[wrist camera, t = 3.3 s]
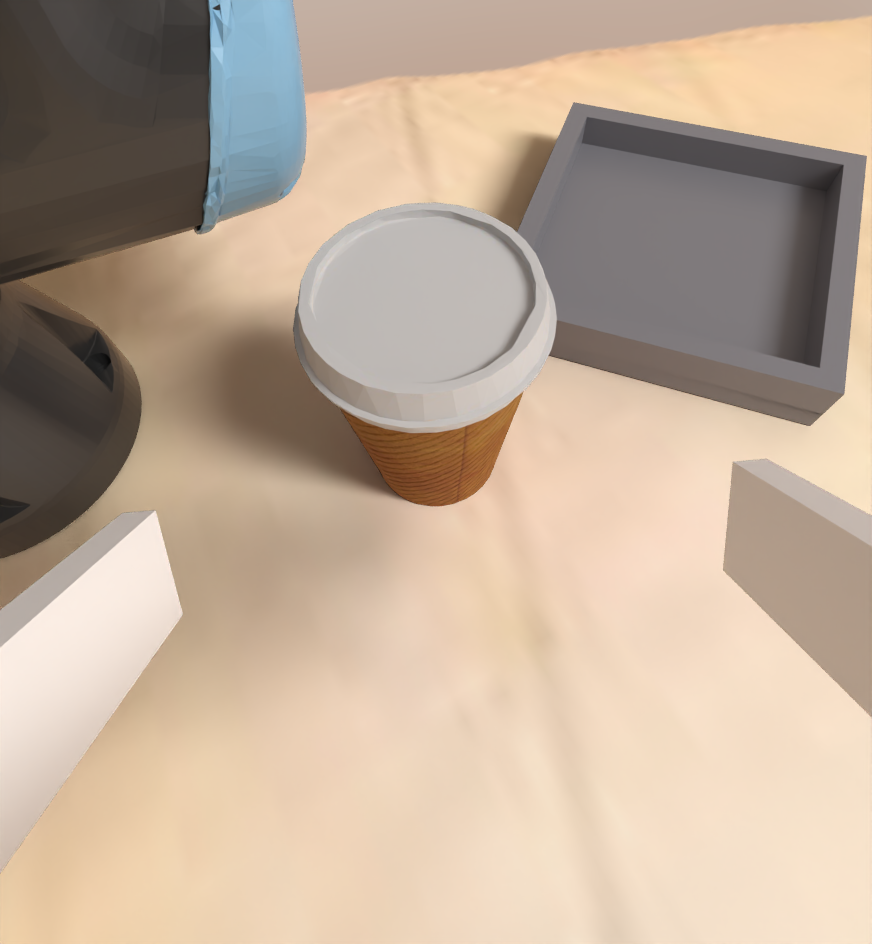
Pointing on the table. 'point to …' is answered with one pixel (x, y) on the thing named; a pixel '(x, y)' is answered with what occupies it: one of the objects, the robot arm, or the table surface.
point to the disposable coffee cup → (426, 340)
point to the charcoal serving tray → (701, 258)
